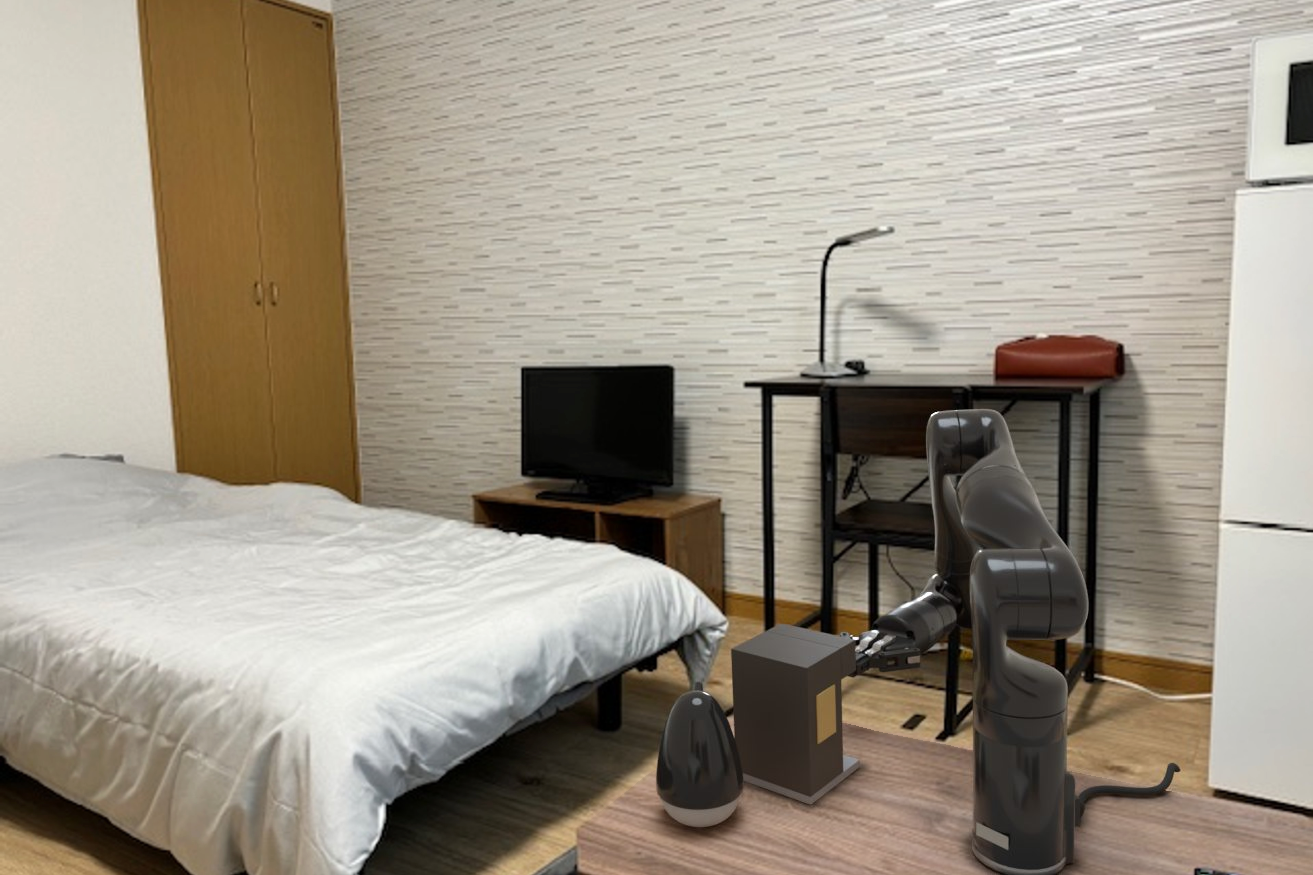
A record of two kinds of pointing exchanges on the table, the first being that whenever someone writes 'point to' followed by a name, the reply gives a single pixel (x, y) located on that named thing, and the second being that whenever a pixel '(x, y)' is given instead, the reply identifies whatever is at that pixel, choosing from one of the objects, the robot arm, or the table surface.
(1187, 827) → the table surface
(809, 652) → the box
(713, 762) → the pump dispenser
